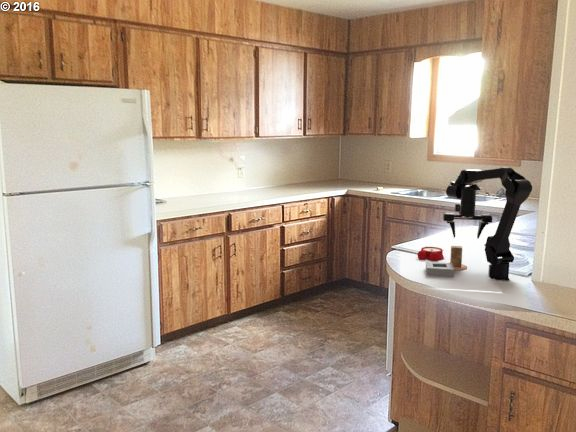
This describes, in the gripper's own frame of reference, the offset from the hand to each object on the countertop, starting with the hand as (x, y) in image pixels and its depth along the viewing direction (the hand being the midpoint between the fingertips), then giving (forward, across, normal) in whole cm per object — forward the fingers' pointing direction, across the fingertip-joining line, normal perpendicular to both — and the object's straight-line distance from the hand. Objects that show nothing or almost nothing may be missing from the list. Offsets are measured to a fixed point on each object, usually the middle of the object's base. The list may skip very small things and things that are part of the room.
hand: (466, 238), depth 217 cm
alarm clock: (+12, +13, -11) cm, 21 cm away
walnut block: (+11, +4, +4) cm, 12 cm away
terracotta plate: (+12, +4, +4) cm, 13 cm away
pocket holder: (+12, +11, +14) cm, 21 cm away
